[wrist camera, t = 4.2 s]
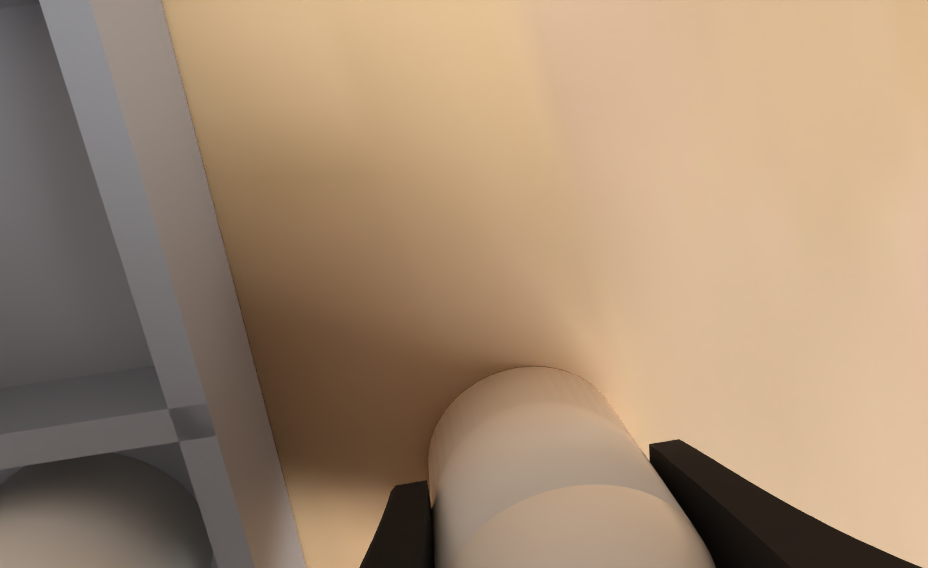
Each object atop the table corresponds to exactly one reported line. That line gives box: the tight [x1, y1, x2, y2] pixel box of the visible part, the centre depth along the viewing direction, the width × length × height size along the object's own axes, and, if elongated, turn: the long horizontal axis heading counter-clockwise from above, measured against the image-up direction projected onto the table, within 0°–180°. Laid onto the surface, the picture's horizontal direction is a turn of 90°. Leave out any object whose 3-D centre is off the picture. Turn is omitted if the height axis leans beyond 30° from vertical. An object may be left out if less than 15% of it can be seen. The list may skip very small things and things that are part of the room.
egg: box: [428, 367, 716, 568], centre depth 10 cm, size 4×4×6 cm
